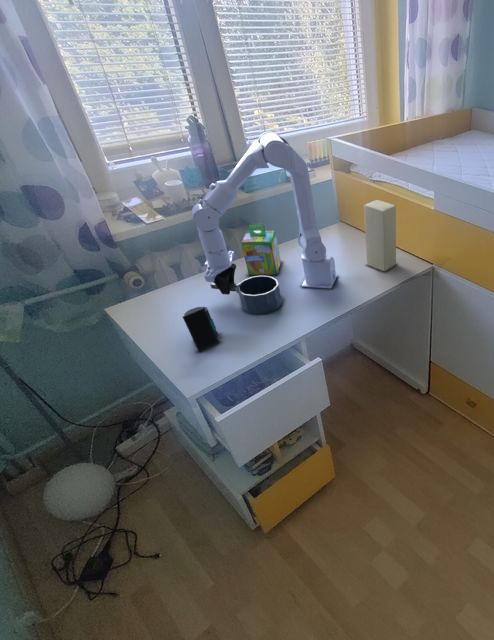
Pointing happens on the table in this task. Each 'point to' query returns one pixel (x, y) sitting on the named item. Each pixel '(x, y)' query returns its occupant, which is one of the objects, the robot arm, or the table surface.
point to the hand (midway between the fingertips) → (228, 290)
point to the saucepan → (257, 294)
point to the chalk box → (261, 251)
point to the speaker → (201, 327)
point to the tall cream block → (380, 234)
